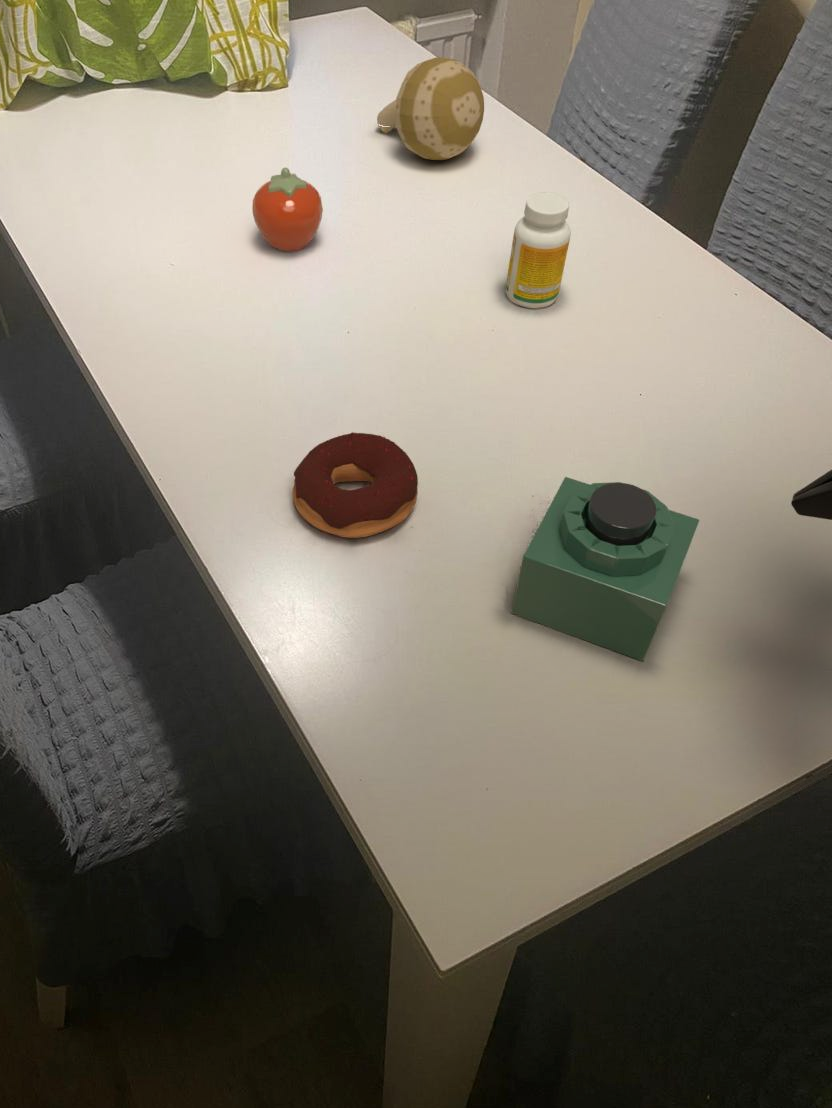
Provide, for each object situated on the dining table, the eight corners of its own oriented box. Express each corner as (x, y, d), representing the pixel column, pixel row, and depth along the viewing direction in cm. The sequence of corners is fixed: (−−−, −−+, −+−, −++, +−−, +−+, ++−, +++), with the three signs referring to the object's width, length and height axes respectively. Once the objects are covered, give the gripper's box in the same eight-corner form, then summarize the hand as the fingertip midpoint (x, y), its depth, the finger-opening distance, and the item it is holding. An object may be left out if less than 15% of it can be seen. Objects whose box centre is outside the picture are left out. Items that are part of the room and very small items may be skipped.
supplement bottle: (495, 288, 95) (507, 195, 87) (539, 275, 96) (555, 183, 89) (523, 315, 92) (539, 221, 84) (568, 302, 94) (588, 208, 86)
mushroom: (409, 85, 117) (491, 37, 105) (429, 175, 121) (511, 138, 109) (344, 94, 112) (423, 44, 100) (367, 187, 116) (446, 150, 103)
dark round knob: (657, 513, 64) (664, 494, 63) (639, 554, 62) (646, 536, 61) (596, 493, 66) (601, 474, 64) (576, 533, 63) (581, 515, 62)
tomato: (336, 248, 100) (335, 173, 93) (276, 268, 97) (271, 192, 91) (301, 218, 104) (298, 144, 97) (242, 237, 101) (235, 162, 95)
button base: (675, 577, 71) (707, 500, 65) (643, 662, 66) (674, 588, 60) (551, 534, 74) (569, 457, 67) (510, 613, 69) (526, 537, 62)
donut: (290, 545, 73) (288, 509, 70) (295, 461, 79) (292, 424, 76) (419, 545, 73) (422, 508, 70) (413, 461, 79) (416, 423, 76)
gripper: (1063, 181, 47) (763, 318, 59) (1050, 387, 37) (690, 503, 48) (1134, 356, 51) (841, 451, 63) (1140, 586, 41) (789, 648, 52)
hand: (794, 504), depth 56 cm, fingers closed
